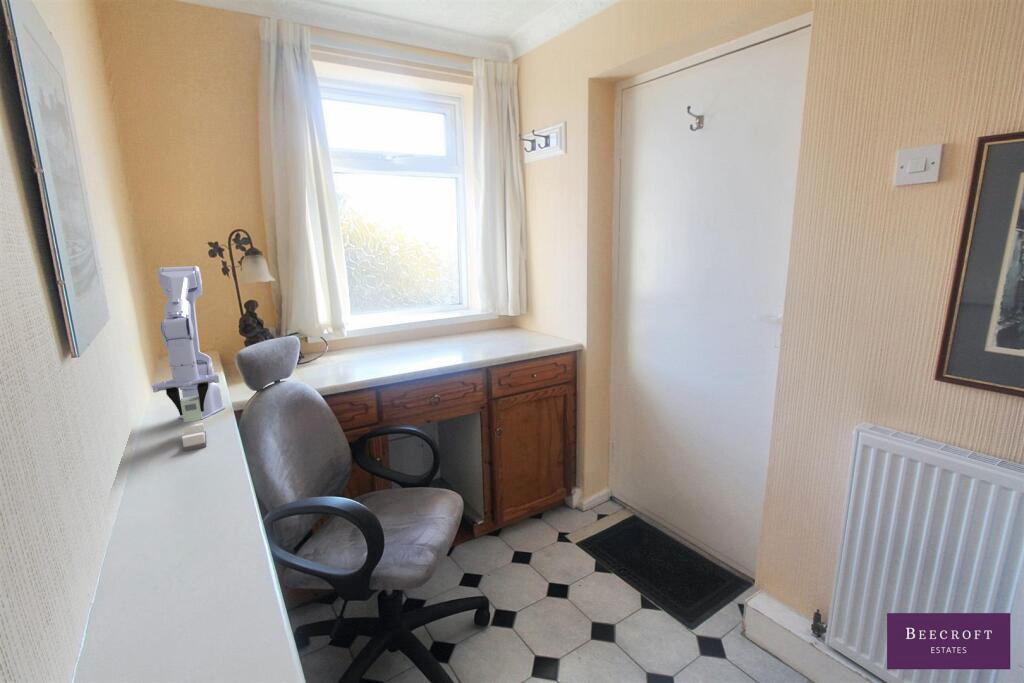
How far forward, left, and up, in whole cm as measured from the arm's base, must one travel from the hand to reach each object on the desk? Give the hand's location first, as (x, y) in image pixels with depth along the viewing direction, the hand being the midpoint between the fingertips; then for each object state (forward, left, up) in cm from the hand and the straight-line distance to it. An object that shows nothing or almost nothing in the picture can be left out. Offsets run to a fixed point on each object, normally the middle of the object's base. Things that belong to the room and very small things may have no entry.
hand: (192, 412), depth 129 cm
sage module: (0, 0, -2) cm, 2 cm away
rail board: (+6, +5, -6) cm, 10 cm away
